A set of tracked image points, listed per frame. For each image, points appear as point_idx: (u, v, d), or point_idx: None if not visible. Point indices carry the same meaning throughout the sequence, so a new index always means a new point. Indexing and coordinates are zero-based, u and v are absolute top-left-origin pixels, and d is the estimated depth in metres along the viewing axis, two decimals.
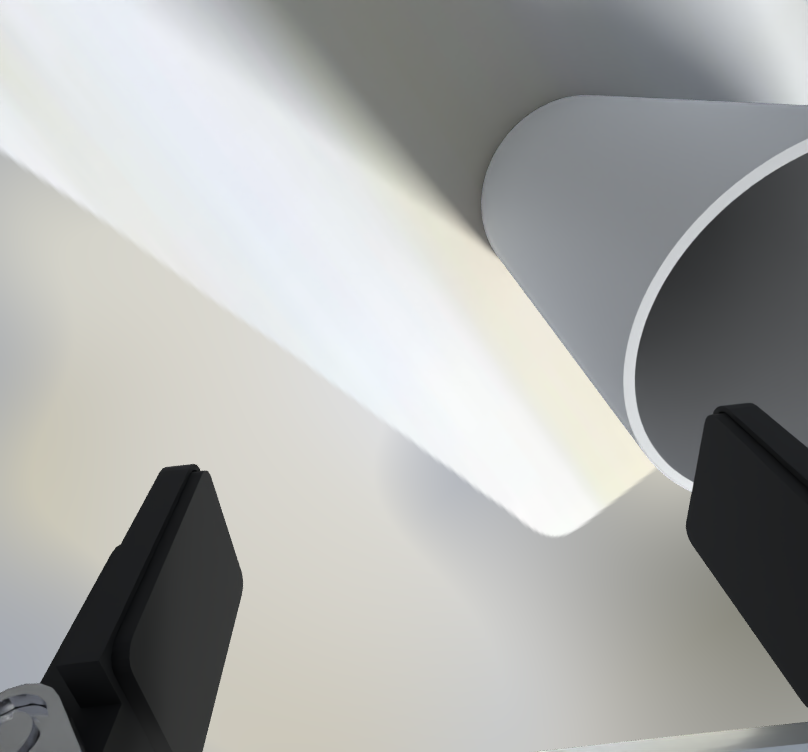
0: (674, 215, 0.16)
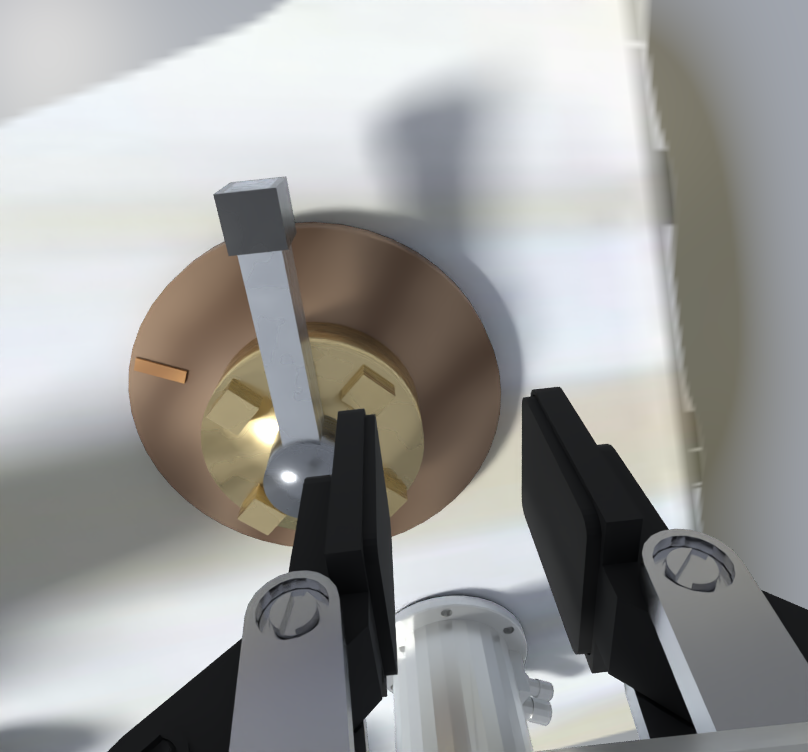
0: None
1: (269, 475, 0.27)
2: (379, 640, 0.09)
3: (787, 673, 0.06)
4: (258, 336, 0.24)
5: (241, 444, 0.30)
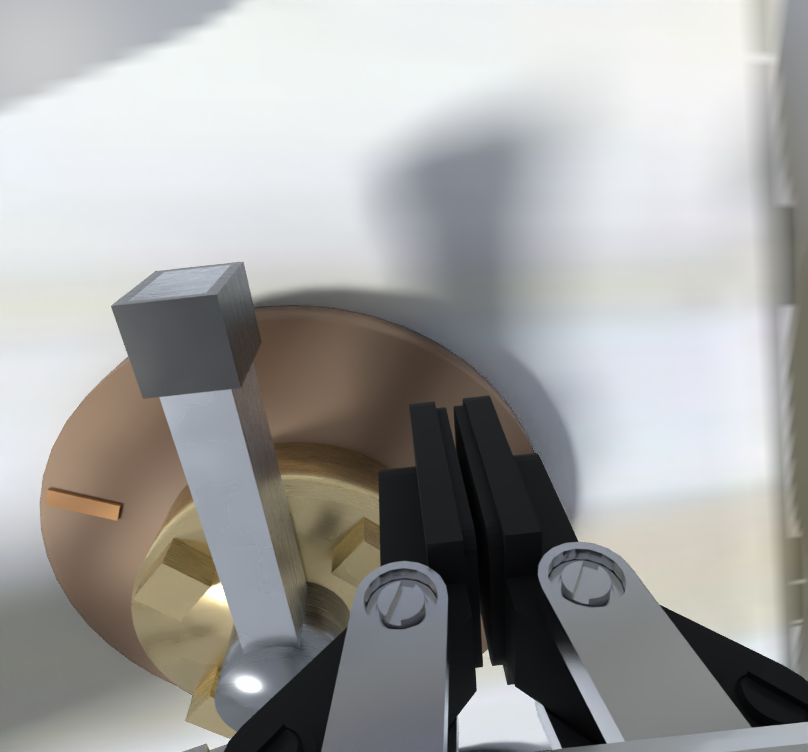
0: None
1: (223, 692, 0.18)
2: None
3: (688, 678, 0.06)
4: (199, 508, 0.16)
5: (190, 620, 0.21)
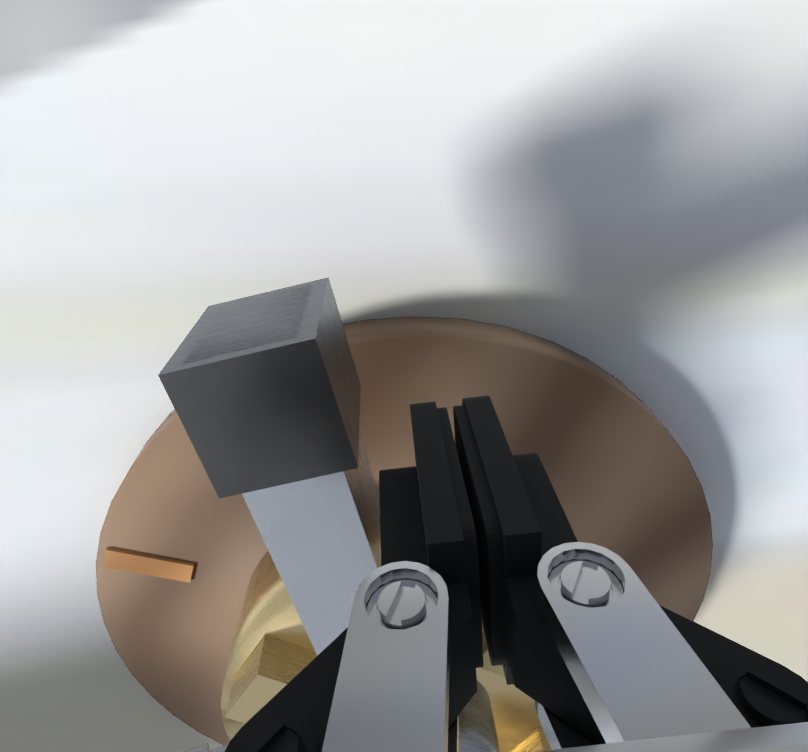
0: None
1: None
2: None
3: (687, 678, 0.06)
4: (307, 625, 0.11)
5: None
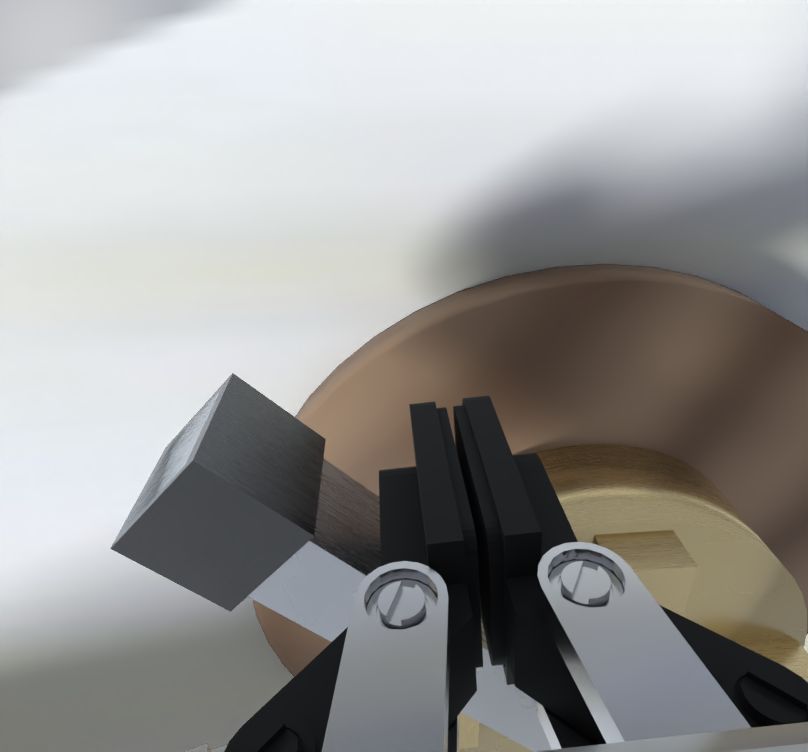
0: None
1: None
2: None
3: (687, 678, 0.06)
4: None
5: None
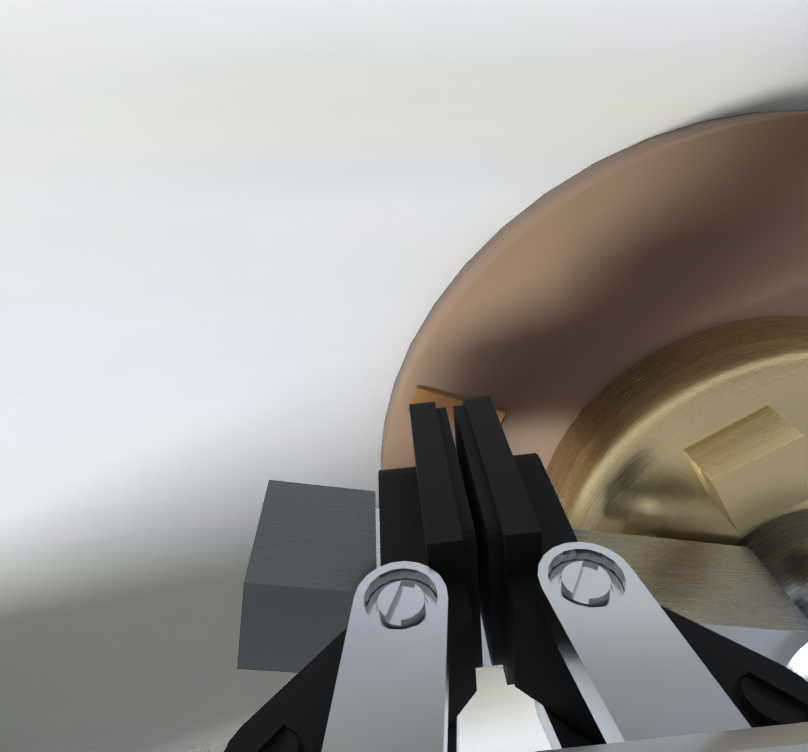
0: None
1: None
2: None
3: (688, 678, 0.06)
4: None
5: None
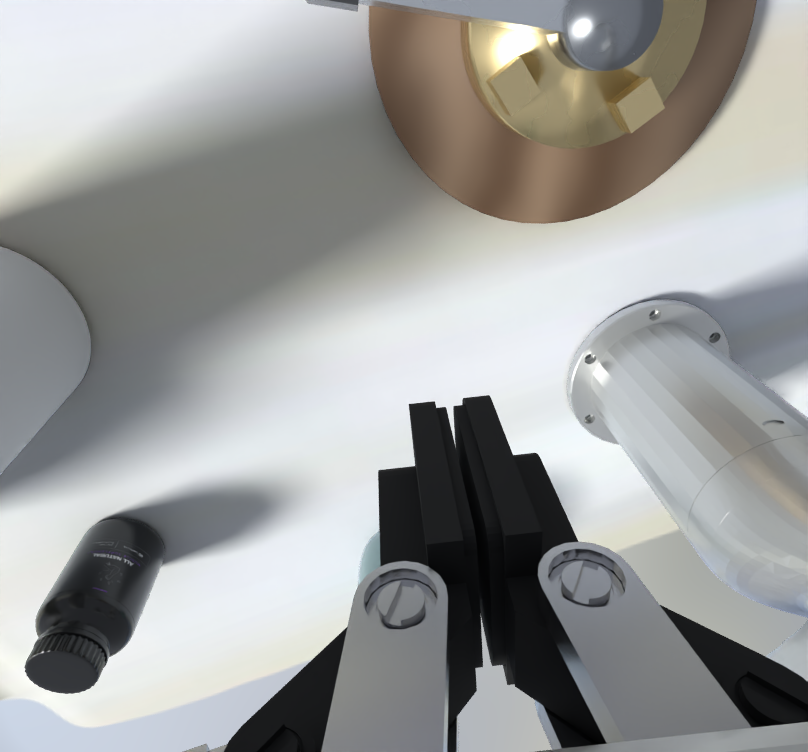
0: None
1: (586, 56, 0.26)
2: None
3: (688, 678, 0.06)
4: (440, 9, 0.25)
5: (556, 102, 0.30)
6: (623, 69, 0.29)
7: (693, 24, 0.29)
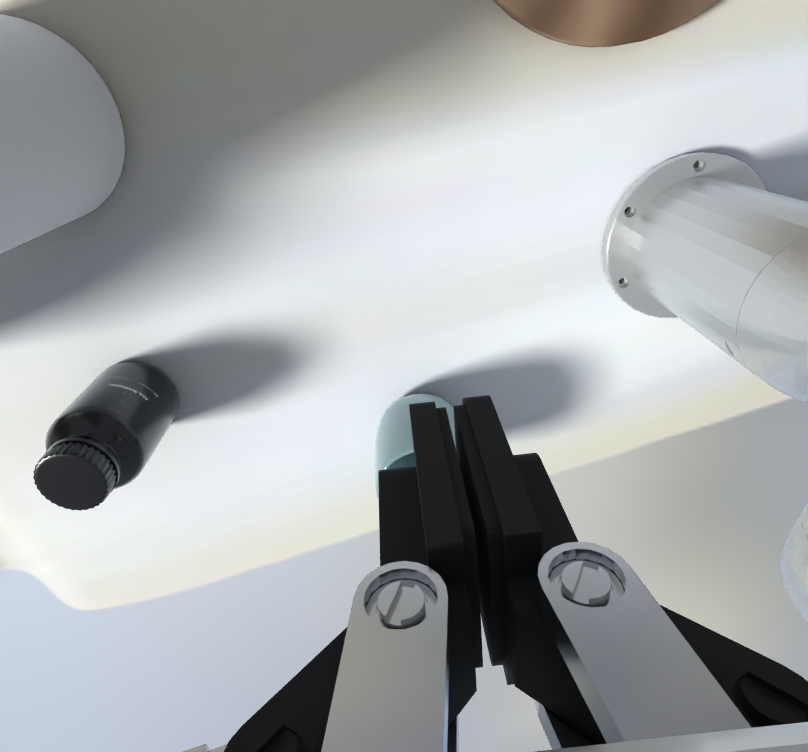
0: None
1: None
2: None
3: (688, 678, 0.06)
4: None
5: None
6: None
7: None
